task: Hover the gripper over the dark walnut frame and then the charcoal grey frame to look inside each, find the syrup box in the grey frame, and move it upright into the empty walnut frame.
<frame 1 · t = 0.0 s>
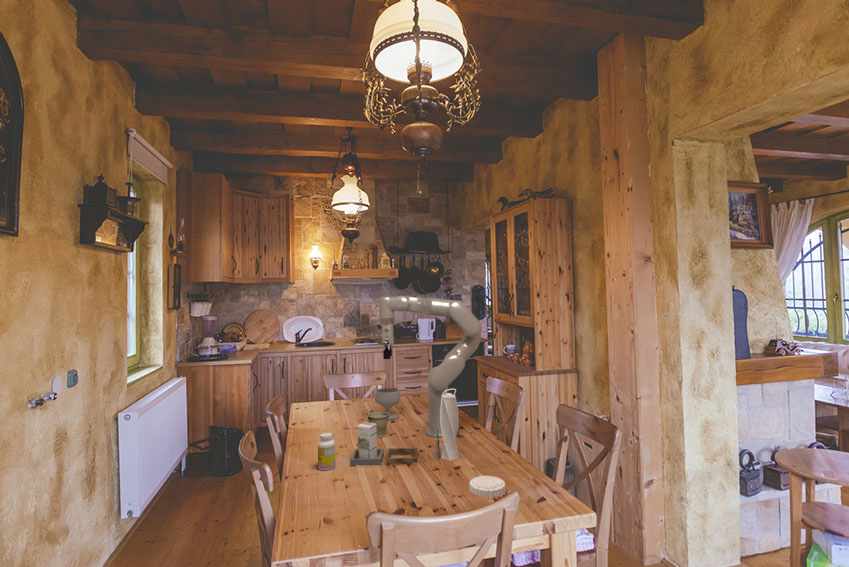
hand: (387, 357, 212), 37 cm above the table, tool pointing down, fingers open, 9 cm apart
supplement bottle: (326, 468, 171), on the table
grey frame: (367, 460, 178), on the table
walnut frame: (402, 459, 178), on the table
ceramic cup: (380, 435, 211), on the table
mooncake: (487, 492, 147), on the table
syrup box: (367, 460, 178), resting in grey frame
skyscraper: (449, 460, 177), on the table
chalice: (388, 417, 242), on the table
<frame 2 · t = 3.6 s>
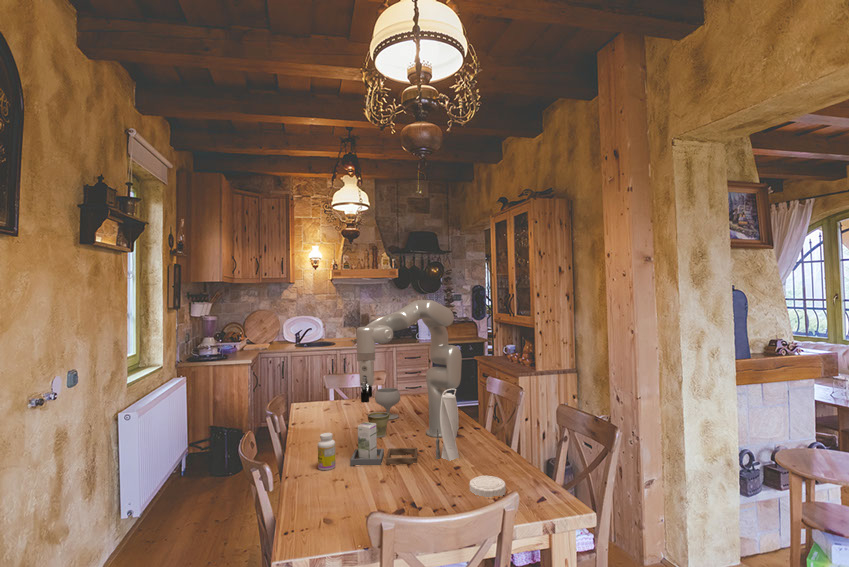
hand: (366, 399, 179), 24 cm above the table, tool pointing down, fingers open, 9 cm apart
nothing on the table moved.
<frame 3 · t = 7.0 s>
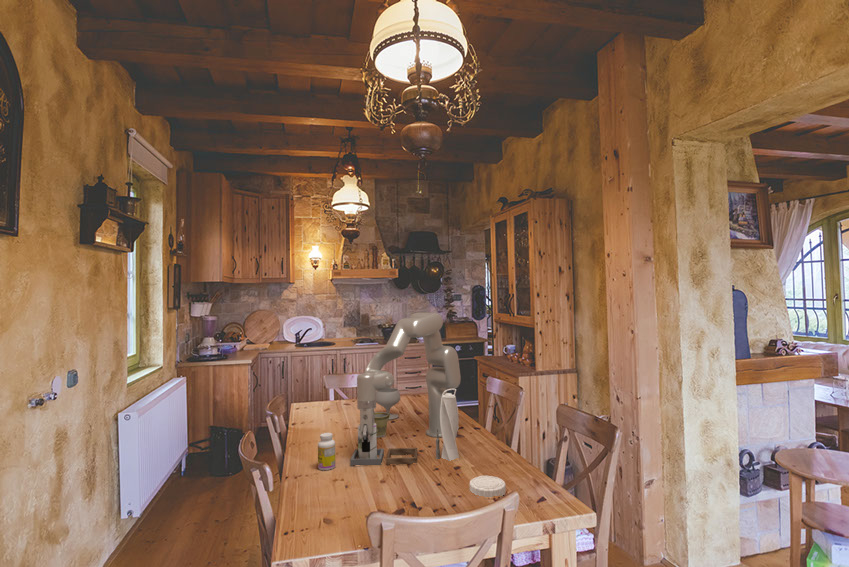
hand: (367, 447, 178), 5 cm above the table, tool pointing down, fingers closed on syrup box, 7 cm apart
syrup box: (367, 460, 178), resting in grey frame, touching gripper
everything else where it was.
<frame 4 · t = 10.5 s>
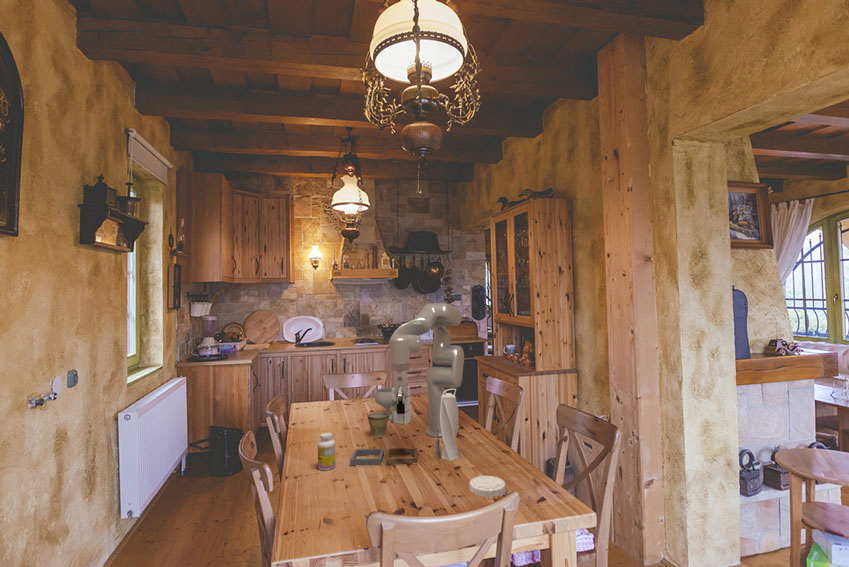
hand: (401, 410, 178), 19 cm above the table, tool pointing down, fingers closed on syrup box, 7 cm apart
syrup box: (401, 423, 178), point 14 cm above the table, touching gripper
everything else where it was.
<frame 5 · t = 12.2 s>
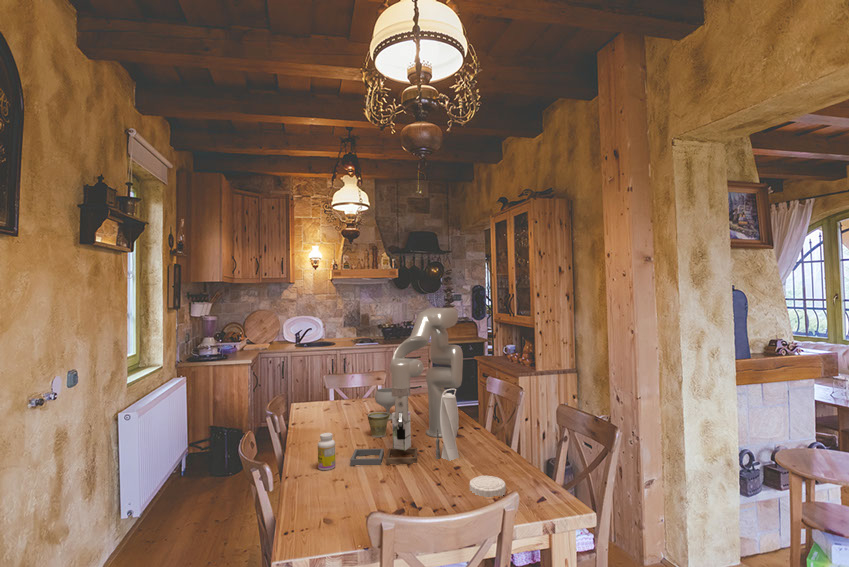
hand: (401, 435, 178), 9 cm above the table, tool pointing down, fingers closed on syrup box, 7 cm apart
syrup box: (401, 448, 178), point 4 cm above the table, touching gripper
everything else where it was.
when the fingers open (6 cm above the table, at t = 13.9 s): syrup box drops 1 cm, resting in walnut frame.
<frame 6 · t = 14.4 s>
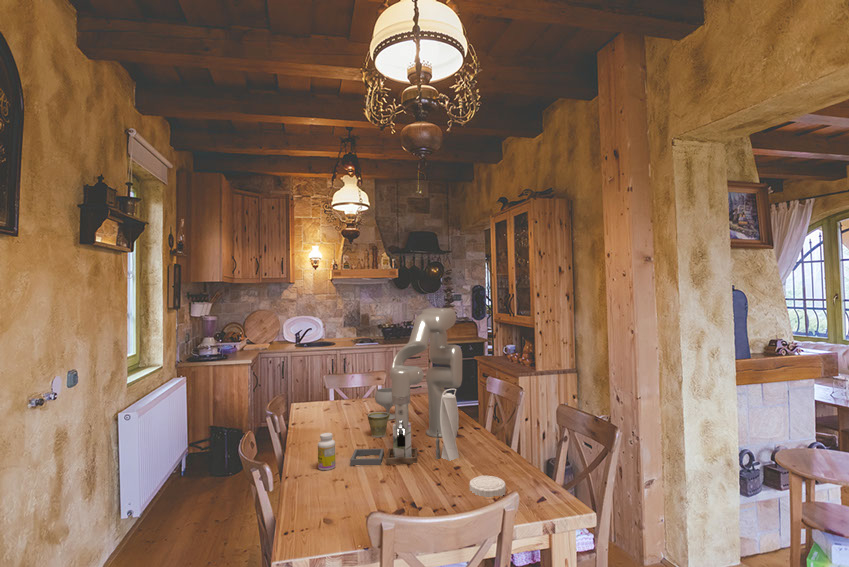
hand: (402, 442, 178), 7 cm above the table, tool pointing down, fingers open, 9 cm apart
syrup box: (402, 459, 178), resting in walnut frame
everything else where it was.
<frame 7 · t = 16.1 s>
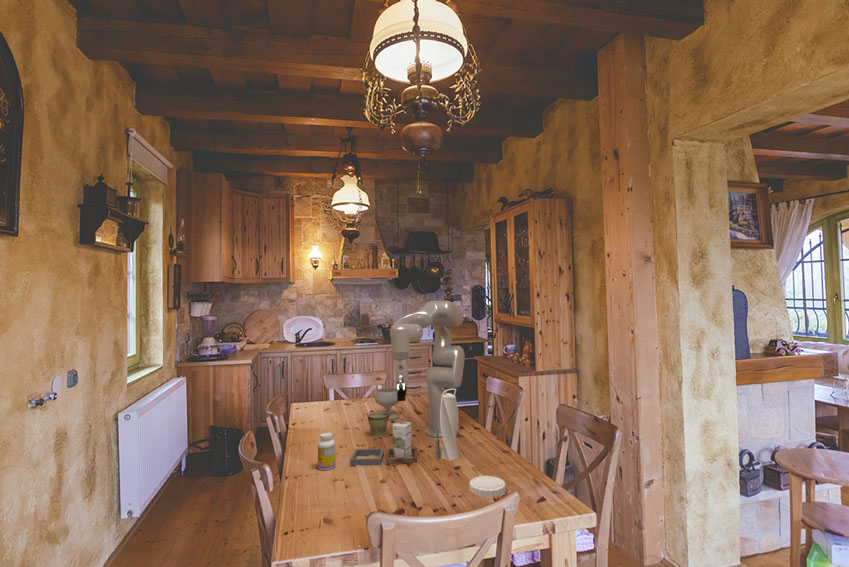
hand: (402, 397, 180), 24 cm above the table, tool pointing down, fingers open, 9 cm apart
nothing on the table moved.
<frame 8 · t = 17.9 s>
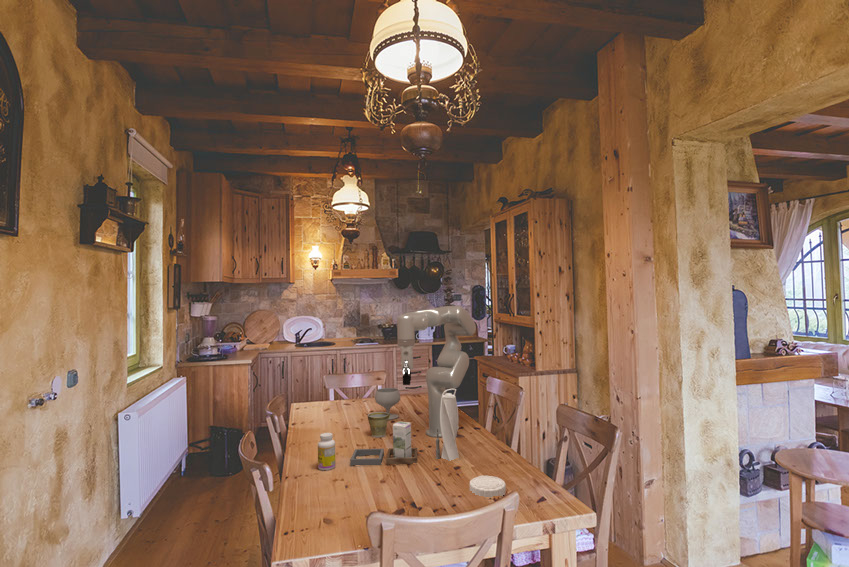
hand: (407, 382, 192), 28 cm above the table, tool pointing down, fingers open, 9 cm apart
nothing on the table moved.
at the end: syrup box 0.1 cm off-centre on the walnut frame, point 0.0 cm above the walnut frame's base; syrup box tilted 0°; the gripper is holding nothing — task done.
